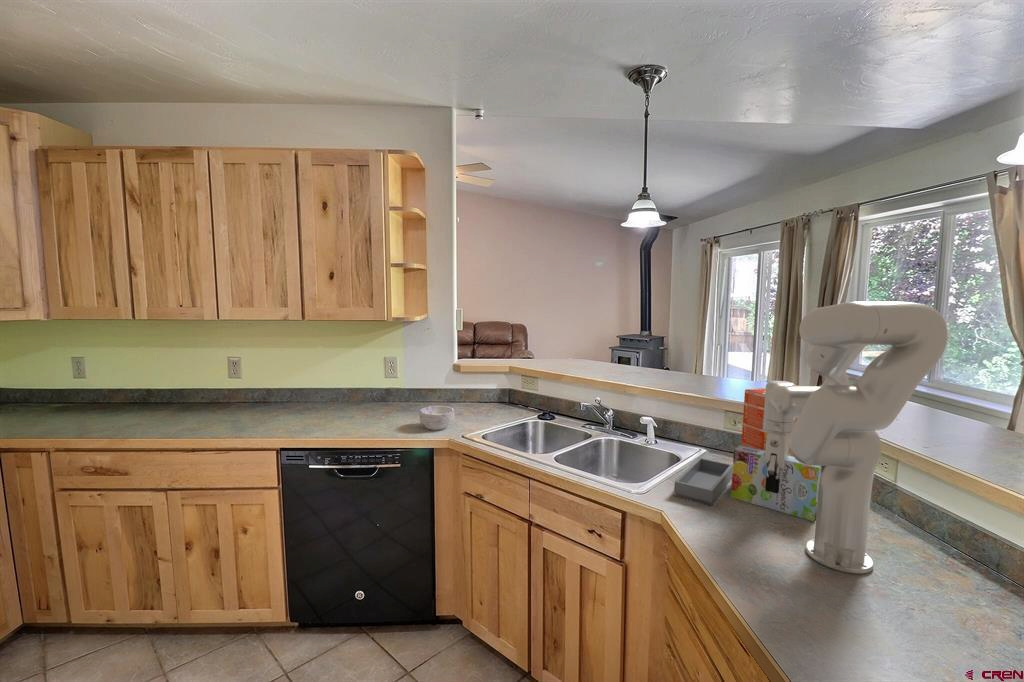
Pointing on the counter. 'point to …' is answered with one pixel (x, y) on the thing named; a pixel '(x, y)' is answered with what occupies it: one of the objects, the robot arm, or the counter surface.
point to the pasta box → (755, 420)
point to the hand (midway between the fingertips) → (773, 487)
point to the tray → (703, 481)
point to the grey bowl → (436, 417)
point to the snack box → (793, 485)
